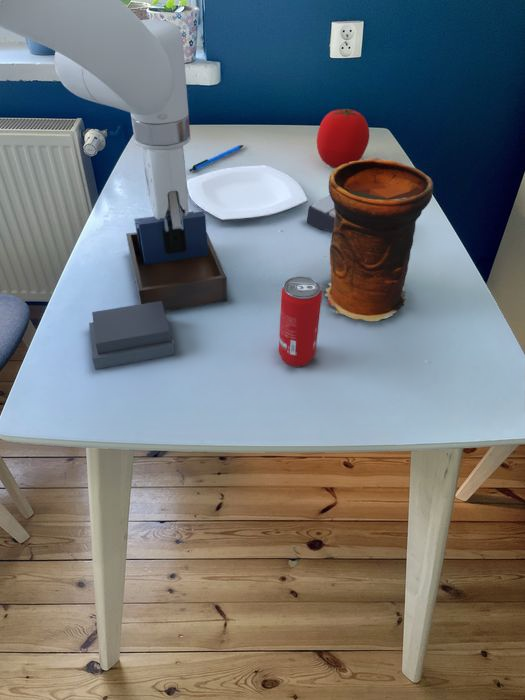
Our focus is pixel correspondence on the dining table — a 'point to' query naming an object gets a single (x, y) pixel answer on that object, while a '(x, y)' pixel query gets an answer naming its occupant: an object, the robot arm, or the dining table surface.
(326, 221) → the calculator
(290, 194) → the plate
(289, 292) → the beverage can
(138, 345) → the grey books
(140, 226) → the blue book
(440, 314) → the dining table surface
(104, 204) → the dining table surface
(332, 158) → the tomato
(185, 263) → the book box
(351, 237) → the vessel
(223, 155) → the pen
